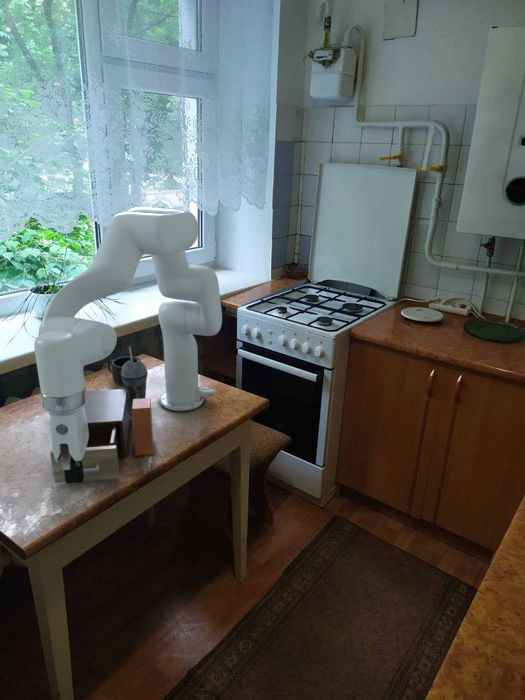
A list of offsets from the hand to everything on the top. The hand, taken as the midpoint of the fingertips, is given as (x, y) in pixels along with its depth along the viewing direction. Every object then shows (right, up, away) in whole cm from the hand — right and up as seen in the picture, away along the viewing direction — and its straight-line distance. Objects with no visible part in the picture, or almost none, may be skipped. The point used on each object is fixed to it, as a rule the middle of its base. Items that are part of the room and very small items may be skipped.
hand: (75, 480), depth 97 cm
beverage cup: (+1, +8, +44) cm, 45 cm away
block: (+7, +1, +26) cm, 27 cm away
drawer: (-3, -1, +17) cm, 18 cm away
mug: (-8, +16, +61) cm, 64 cm away
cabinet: (-5, +3, +30) cm, 30 cm away
